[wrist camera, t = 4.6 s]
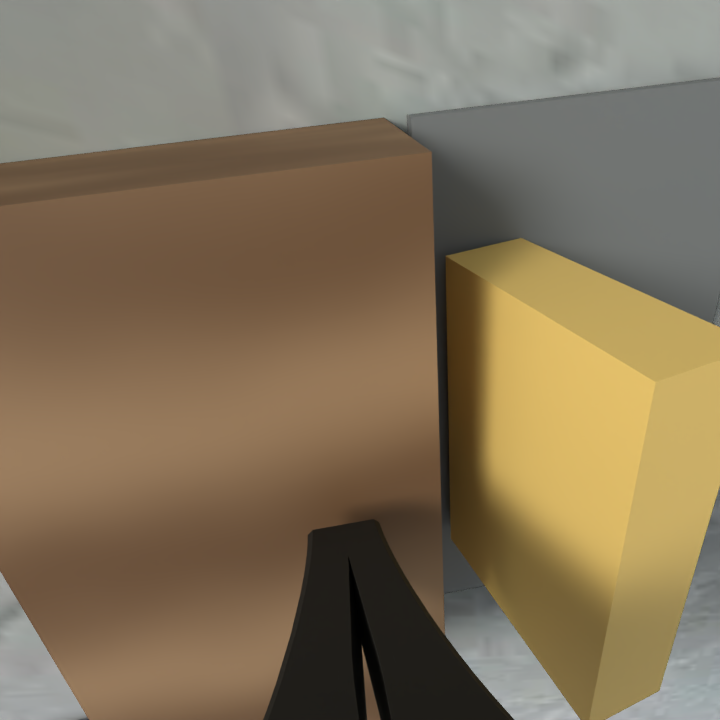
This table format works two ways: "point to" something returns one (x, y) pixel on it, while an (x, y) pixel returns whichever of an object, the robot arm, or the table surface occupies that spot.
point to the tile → (580, 462)
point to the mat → (579, 203)
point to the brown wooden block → (211, 400)
